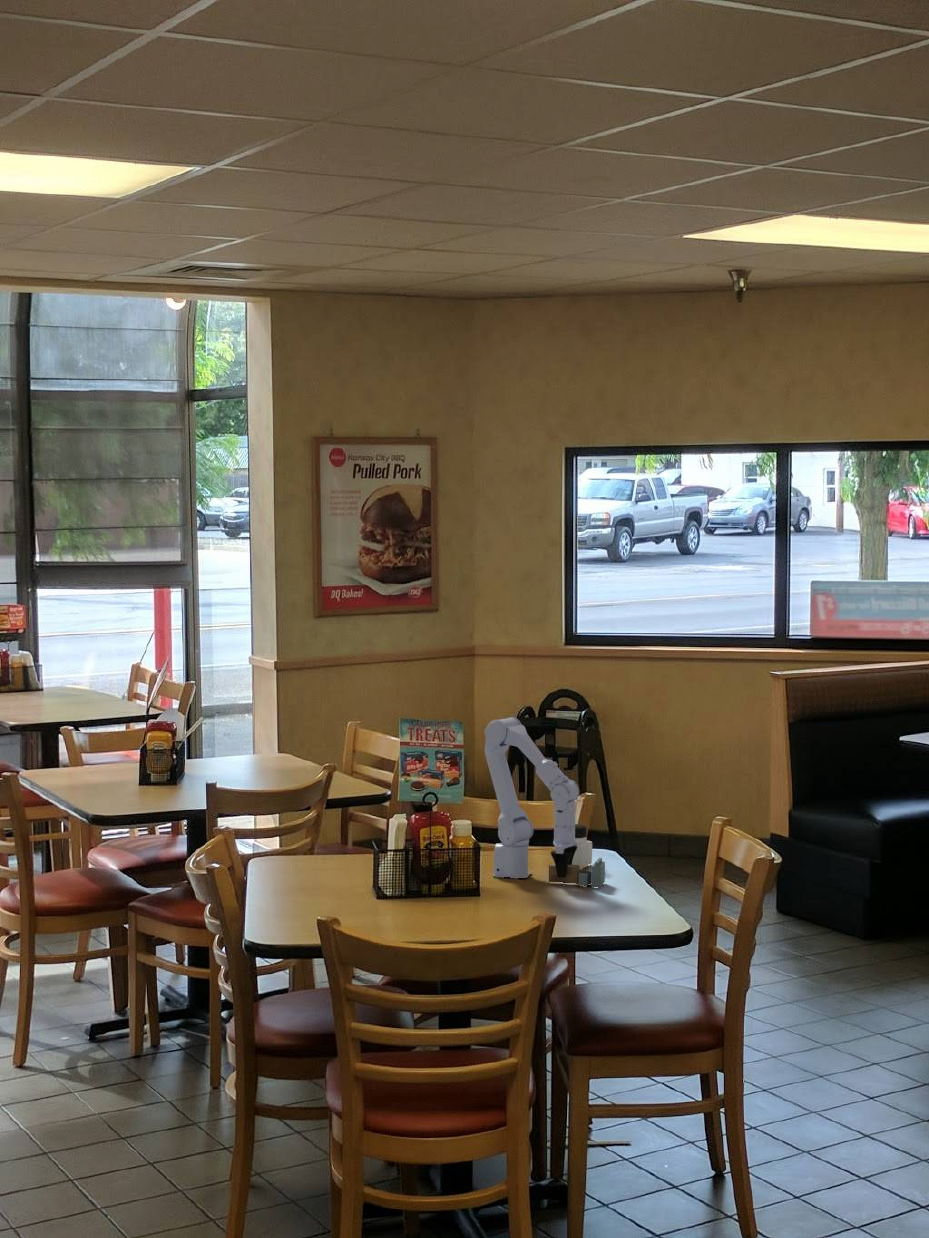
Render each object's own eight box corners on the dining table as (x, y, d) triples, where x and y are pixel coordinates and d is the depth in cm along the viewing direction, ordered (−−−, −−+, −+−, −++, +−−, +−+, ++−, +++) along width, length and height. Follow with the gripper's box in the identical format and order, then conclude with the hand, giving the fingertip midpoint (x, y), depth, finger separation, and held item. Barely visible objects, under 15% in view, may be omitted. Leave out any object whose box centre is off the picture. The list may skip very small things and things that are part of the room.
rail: (548, 883, 398) (548, 865, 398) (550, 881, 401) (550, 863, 401) (590, 886, 395) (590, 868, 395) (592, 884, 398) (592, 865, 398)
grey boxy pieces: (578, 887, 394) (578, 861, 394) (582, 881, 400) (582, 856, 400) (600, 888, 392) (601, 863, 392) (604, 883, 399) (605, 858, 398)
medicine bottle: (592, 865, 421) (592, 824, 420) (580, 870, 415) (581, 828, 414) (570, 862, 425) (571, 821, 424) (558, 866, 419) (559, 825, 418)
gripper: (574, 831, 390) (573, 881, 390) (583, 821, 404) (583, 869, 404) (548, 829, 391) (547, 879, 392) (558, 819, 405) (558, 868, 406)
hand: (563, 874), depth 398 cm, fingers open, 6 cm apart
